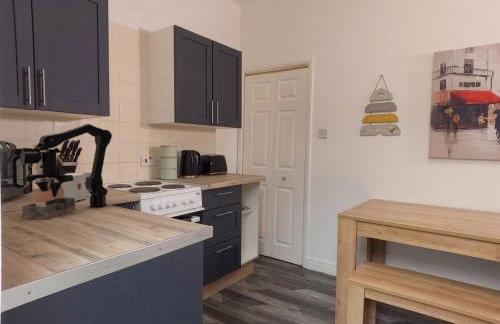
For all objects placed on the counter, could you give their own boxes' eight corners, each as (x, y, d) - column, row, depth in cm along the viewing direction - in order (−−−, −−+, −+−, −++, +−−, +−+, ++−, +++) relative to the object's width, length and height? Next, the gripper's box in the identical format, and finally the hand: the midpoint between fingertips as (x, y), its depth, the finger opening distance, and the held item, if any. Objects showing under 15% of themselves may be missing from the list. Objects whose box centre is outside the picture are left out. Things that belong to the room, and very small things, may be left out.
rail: (56, 196, 149) (56, 188, 149) (63, 196, 149) (63, 188, 148) (35, 202, 135) (35, 193, 135) (43, 202, 135) (43, 193, 135)
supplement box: (76, 202, 168) (76, 175, 167) (60, 202, 169) (59, 174, 168) (86, 199, 177) (85, 173, 176) (70, 199, 178) (69, 173, 177)
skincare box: (81, 197, 184) (80, 172, 183) (83, 195, 190) (82, 171, 189) (96, 196, 186) (96, 171, 185) (98, 194, 192) (98, 170, 191)
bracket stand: (75, 209, 152) (74, 198, 152) (46, 219, 132) (46, 206, 132) (54, 208, 153) (54, 197, 152) (22, 219, 132) (22, 206, 132)
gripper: (79, 162, 148) (80, 194, 150) (41, 161, 149) (42, 193, 150) (65, 163, 137) (66, 198, 138) (24, 163, 138) (25, 197, 139)
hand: (50, 196), depth 142 cm, fingers closed on rail, 3 cm apart
